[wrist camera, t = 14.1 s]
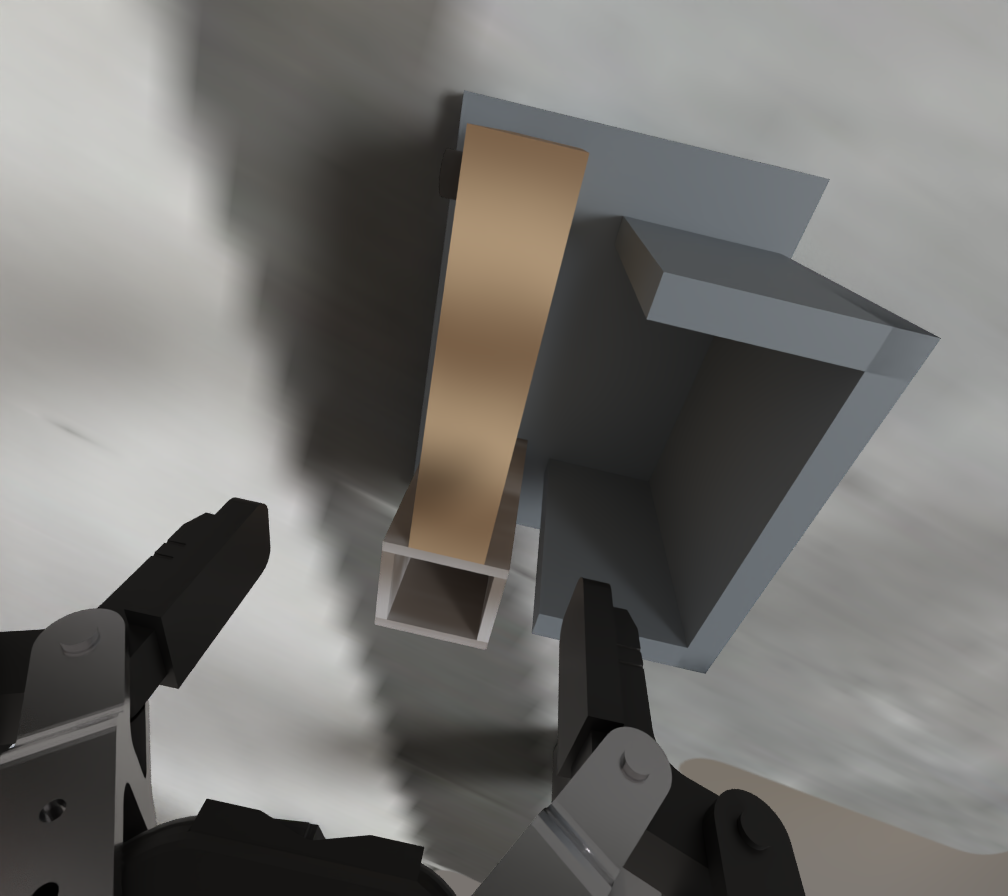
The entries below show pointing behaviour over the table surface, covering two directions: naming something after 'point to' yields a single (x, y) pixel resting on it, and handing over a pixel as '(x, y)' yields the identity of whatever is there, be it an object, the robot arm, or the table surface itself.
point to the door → (480, 384)
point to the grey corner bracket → (686, 383)
